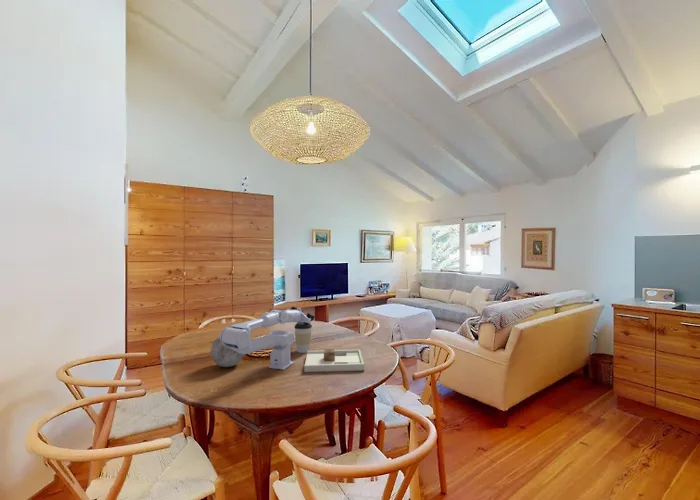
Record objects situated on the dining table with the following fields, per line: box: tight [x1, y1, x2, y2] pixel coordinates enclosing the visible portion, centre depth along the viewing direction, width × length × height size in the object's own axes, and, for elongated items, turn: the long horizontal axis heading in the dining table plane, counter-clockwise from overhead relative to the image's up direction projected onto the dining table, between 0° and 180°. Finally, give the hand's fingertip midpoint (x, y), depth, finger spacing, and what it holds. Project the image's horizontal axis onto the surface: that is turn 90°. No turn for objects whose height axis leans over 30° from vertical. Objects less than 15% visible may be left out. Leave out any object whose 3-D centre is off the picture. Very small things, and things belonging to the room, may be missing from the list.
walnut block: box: [323, 348, 336, 361], centre depth 149 cm, size 5×5×4 cm
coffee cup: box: [293, 322, 313, 354], centre depth 167 cm, size 9×9×15 cm
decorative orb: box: [210, 335, 245, 368], centre depth 146 cm, size 15×14×15 cm
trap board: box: [303, 349, 365, 374], centre depth 149 cm, size 26×20×3 cm
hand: (307, 315), depth 165 cm, fingers open, 7 cm apart
